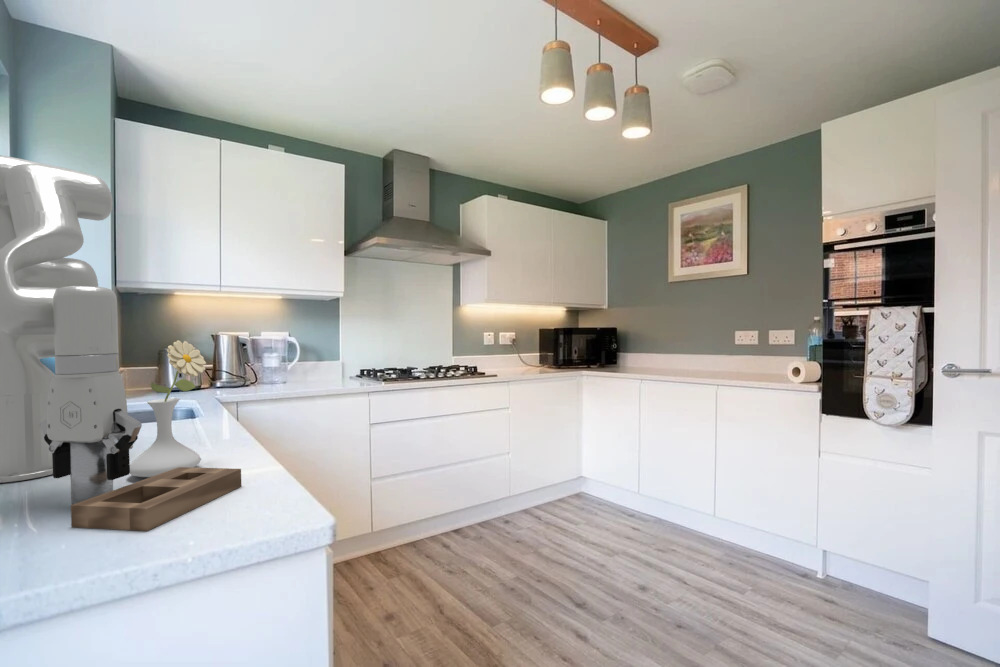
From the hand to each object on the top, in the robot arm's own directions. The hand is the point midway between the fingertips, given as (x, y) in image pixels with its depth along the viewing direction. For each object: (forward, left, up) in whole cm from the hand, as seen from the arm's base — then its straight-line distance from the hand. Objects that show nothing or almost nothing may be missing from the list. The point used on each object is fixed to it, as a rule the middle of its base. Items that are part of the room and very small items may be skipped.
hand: (91, 476), depth 74 cm
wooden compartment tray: (+12, +1, -4) cm, 13 cm away
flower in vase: (-2, +17, -5) cm, 17 cm away
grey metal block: (0, 0, -4) cm, 4 cm away
